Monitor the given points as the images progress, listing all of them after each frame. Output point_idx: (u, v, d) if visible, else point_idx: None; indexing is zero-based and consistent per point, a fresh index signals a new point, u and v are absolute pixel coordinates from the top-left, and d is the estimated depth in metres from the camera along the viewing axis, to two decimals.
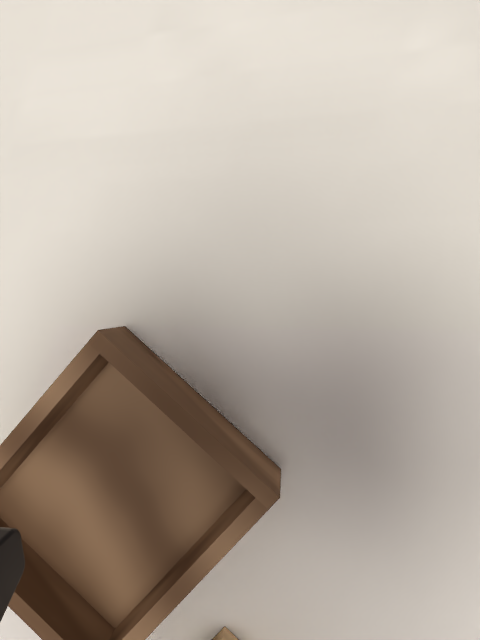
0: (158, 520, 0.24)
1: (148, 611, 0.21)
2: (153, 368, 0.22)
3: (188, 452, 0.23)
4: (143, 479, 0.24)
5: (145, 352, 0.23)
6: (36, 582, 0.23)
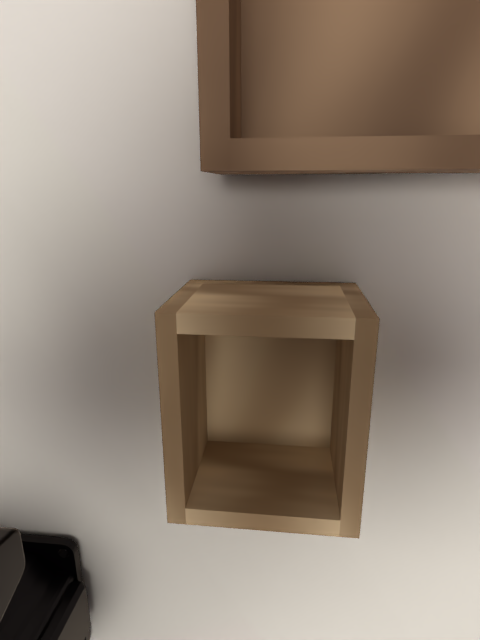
0: (459, 60, 0.13)
1: (394, 136, 0.11)
2: None
3: None
4: None
5: None
6: None
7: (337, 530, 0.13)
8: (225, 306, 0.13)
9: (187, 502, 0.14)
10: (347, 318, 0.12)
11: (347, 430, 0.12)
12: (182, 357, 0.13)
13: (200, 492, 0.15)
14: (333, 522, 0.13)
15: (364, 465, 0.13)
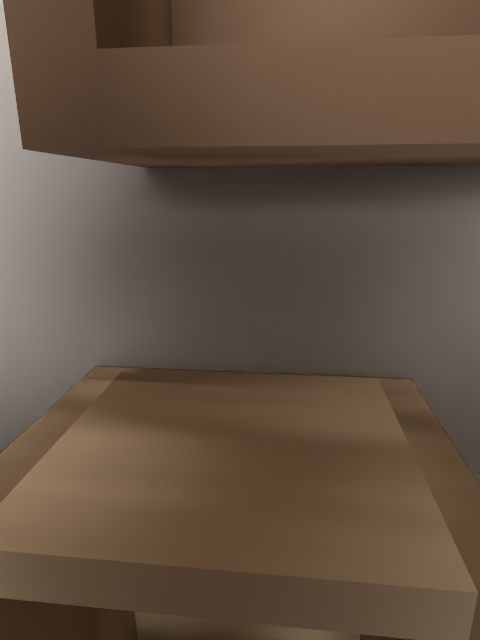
0: None
1: None
2: None
3: None
4: None
5: None
6: None
7: None
8: (115, 498, 0.05)
9: None
10: (451, 590, 0.04)
11: None
12: (15, 613, 0.05)
13: None
14: None
15: None
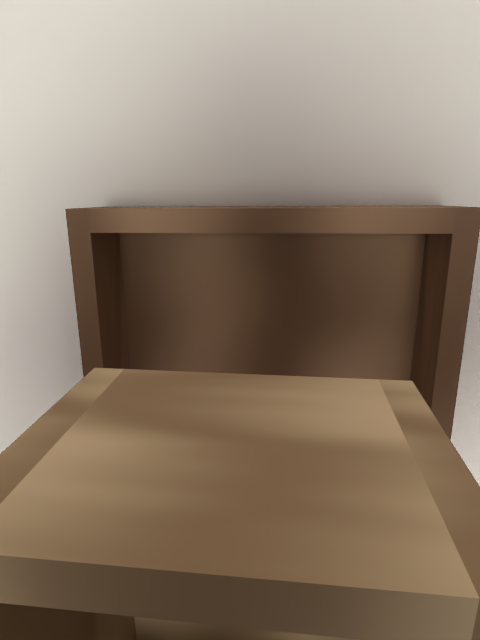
0: None
1: None
2: None
3: None
4: (300, 364, 0.19)
5: None
6: (115, 356, 0.18)
7: None
8: (114, 501, 0.05)
9: None
10: (452, 595, 0.04)
11: None
12: (13, 618, 0.05)
13: None
14: None
15: None
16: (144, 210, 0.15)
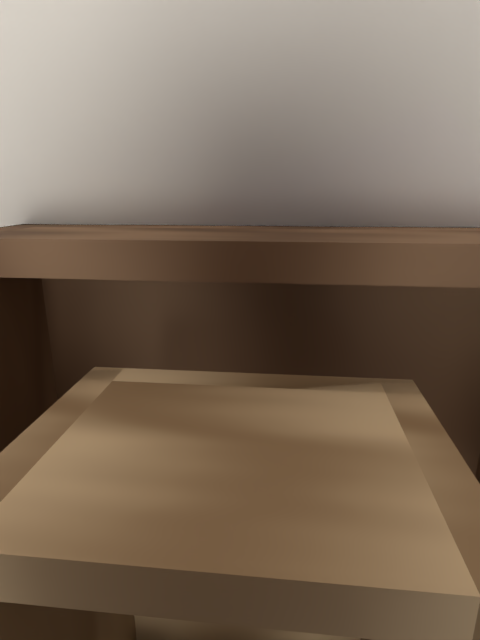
0: None
1: None
2: None
3: None
4: None
5: None
6: None
7: None
8: (114, 500, 0.05)
9: None
10: (453, 593, 0.04)
11: None
12: (13, 617, 0.05)
13: None
14: None
15: None
16: (52, 242, 0.09)
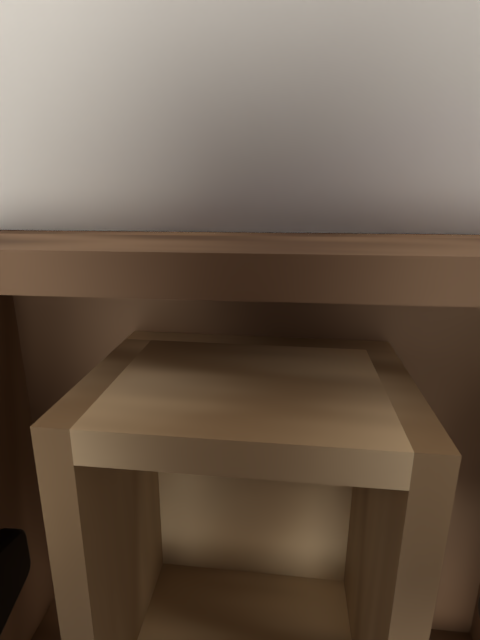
0: None
1: None
2: None
3: None
4: None
5: None
6: (4, 482, 0.11)
7: None
8: (169, 406, 0.07)
9: None
10: (397, 451, 0.06)
11: (388, 637, 0.07)
12: (94, 492, 0.07)
13: None
14: None
15: None
16: (12, 253, 0.08)
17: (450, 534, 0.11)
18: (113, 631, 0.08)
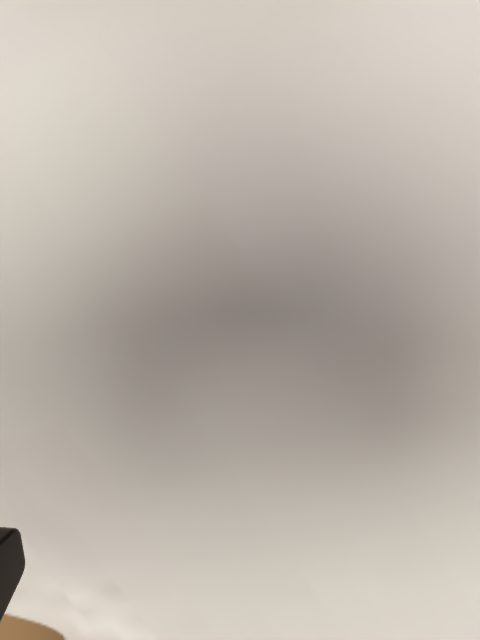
0: None
1: None
2: None
3: None
4: None
5: None
6: None
7: None
8: None
9: None
10: None
11: None
12: None
13: None
14: None
15: None
16: None
17: None
18: None
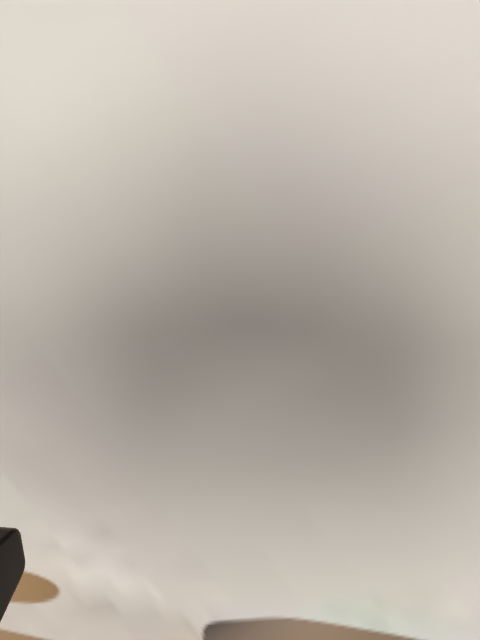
0: None
1: None
2: None
3: None
4: None
5: None
6: None
7: None
8: None
9: None
10: None
11: None
12: None
13: None
14: None
15: None
16: None
17: None
18: None
